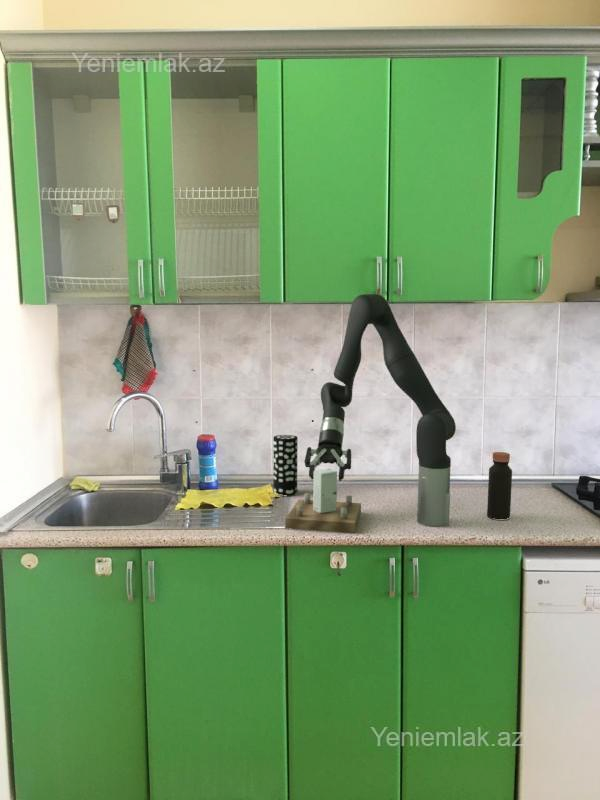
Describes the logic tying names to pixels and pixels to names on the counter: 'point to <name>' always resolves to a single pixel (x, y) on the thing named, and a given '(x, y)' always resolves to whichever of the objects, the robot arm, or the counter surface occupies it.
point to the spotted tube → (285, 465)
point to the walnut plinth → (324, 516)
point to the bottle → (499, 487)
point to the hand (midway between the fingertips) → (325, 478)
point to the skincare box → (325, 491)
